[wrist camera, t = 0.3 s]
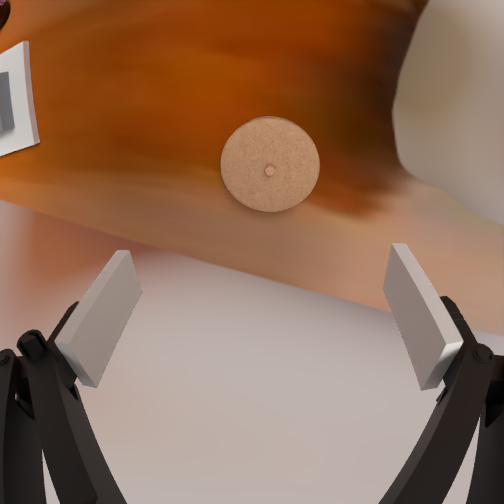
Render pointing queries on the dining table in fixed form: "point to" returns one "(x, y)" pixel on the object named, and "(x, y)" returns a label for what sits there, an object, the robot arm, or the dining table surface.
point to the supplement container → (4, 11)
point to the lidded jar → (270, 164)
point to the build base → (16, 101)
